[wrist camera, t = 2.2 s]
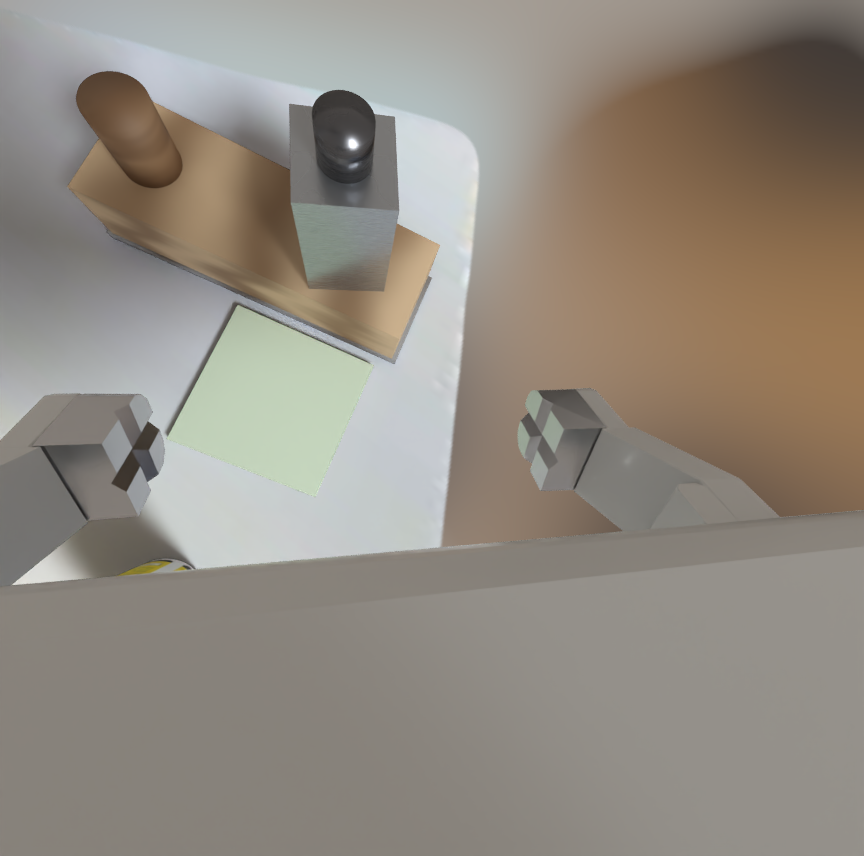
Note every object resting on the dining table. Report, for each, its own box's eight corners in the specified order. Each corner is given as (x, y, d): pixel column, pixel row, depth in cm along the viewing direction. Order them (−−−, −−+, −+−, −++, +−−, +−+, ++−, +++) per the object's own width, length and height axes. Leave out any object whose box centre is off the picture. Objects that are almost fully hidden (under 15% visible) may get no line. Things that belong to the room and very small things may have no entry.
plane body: (111, 237, 28) (1, 125, 19) (163, 152, 29) (83, 11, 20) (394, 364, 30) (412, 318, 22) (430, 281, 32) (460, 206, 23)
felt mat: (170, 439, 27) (166, 438, 26) (240, 308, 29) (237, 304, 28) (315, 496, 28) (314, 497, 28) (373, 367, 30) (373, 365, 30)
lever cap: (309, 288, 25) (283, 167, 15) (307, 218, 25) (281, 57, 16) (384, 291, 26) (404, 178, 16) (381, 223, 26) (400, 74, 17)
